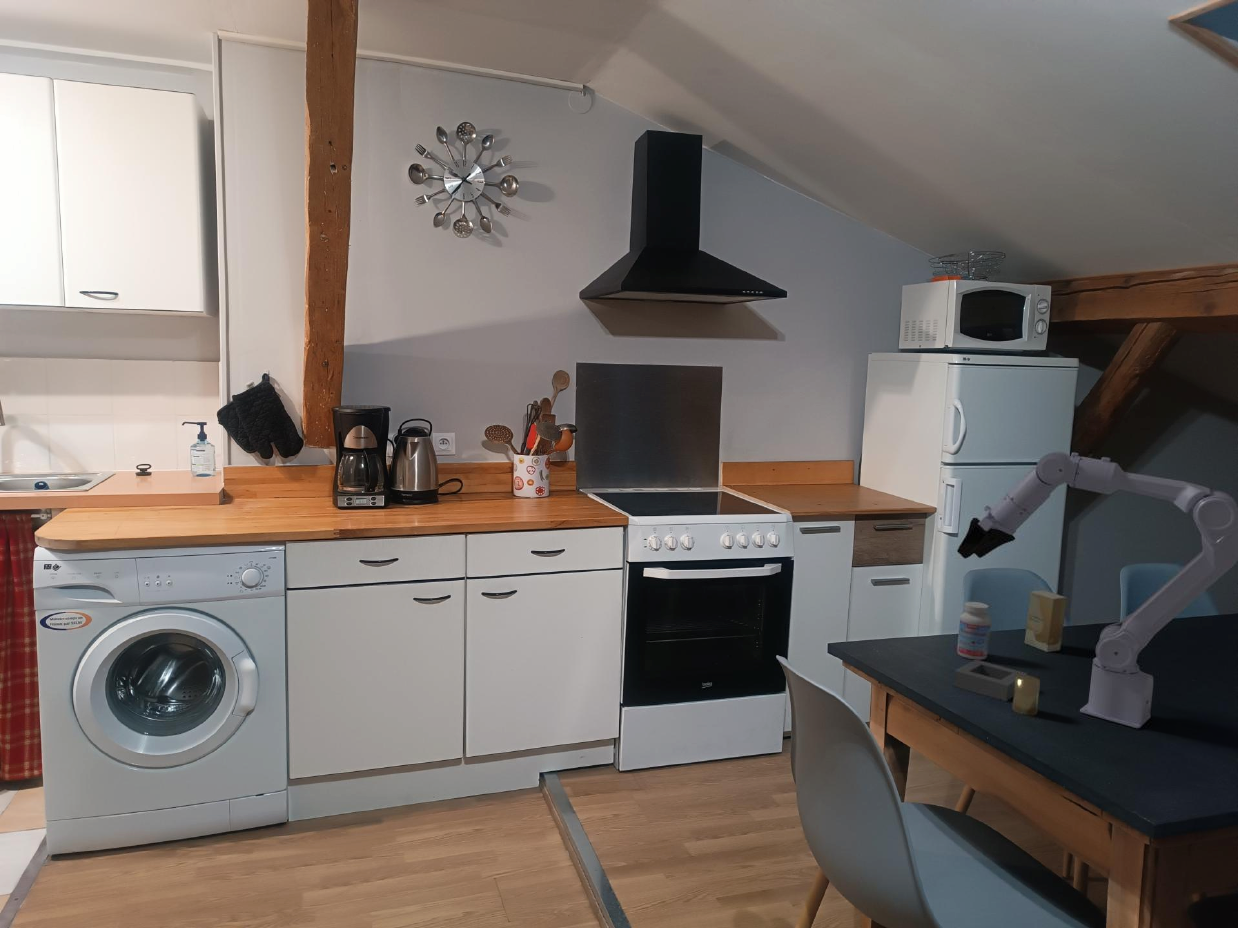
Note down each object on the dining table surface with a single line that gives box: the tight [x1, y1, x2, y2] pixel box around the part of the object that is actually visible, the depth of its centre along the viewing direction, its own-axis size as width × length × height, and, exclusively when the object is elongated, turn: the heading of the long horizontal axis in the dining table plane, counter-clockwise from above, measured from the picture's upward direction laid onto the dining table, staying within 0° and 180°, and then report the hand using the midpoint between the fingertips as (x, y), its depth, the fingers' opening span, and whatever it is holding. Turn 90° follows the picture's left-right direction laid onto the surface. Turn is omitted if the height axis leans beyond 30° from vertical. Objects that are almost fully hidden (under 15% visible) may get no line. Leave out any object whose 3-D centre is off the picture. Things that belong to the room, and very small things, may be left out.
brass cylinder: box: [1011, 674, 1041, 716], centre depth 156 cm, size 4×4×6 cm
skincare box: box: [1024, 589, 1068, 653], centre depth 193 cm, size 6×4×12 cm
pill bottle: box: [956, 601, 992, 661], centre depth 185 cm, size 6×6×11 cm
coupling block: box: [952, 659, 1028, 702], centre depth 167 cm, size 10×10×3 cm
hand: (968, 554), depth 168 cm, fingers open, 7 cm apart
